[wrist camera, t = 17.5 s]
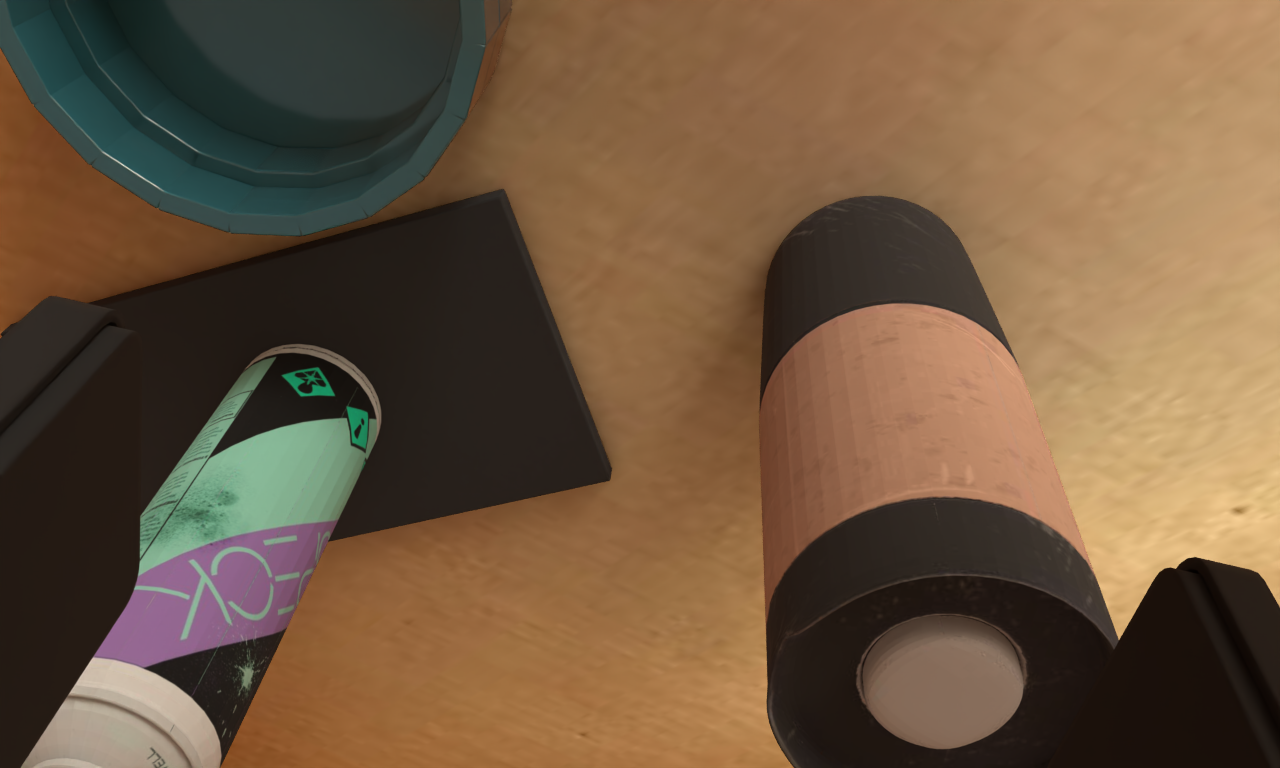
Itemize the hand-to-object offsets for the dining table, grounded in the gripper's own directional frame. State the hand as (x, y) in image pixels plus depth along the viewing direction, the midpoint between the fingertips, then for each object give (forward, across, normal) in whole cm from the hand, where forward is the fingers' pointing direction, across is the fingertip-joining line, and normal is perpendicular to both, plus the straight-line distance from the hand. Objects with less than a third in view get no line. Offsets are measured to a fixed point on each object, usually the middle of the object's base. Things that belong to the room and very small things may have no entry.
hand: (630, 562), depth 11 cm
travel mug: (+31, -8, +10) cm, 33 cm away
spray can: (+30, +10, +20) cm, 37 cm away
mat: (+30, +10, +20) cm, 38 cm away
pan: (+30, +13, +4) cm, 33 cm away
